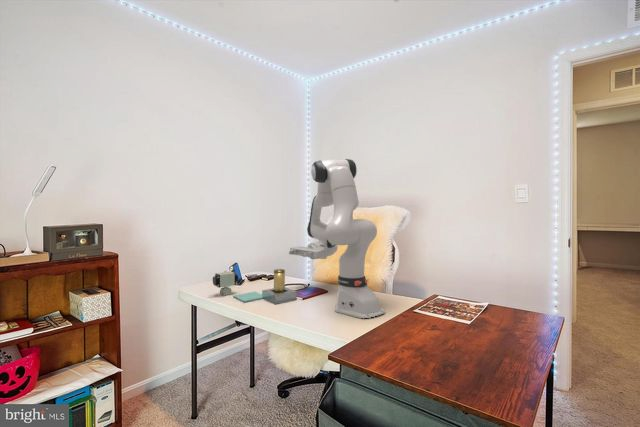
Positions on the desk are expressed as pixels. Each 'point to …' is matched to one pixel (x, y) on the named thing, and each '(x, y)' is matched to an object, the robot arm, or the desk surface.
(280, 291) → the brass cylinder
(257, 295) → the pad
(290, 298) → the housing
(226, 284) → the pneumatic valve
